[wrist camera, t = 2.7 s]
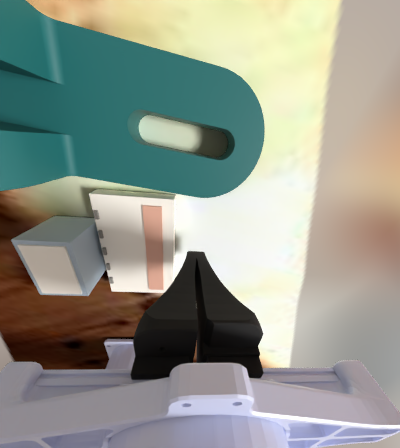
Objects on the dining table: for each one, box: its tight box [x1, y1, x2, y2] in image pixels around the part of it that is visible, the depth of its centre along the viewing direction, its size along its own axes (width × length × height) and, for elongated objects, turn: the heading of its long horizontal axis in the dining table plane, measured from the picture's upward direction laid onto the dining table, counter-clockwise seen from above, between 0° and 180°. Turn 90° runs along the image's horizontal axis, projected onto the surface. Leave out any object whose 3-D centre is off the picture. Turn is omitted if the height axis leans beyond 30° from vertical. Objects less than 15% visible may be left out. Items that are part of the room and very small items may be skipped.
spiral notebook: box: [89, 189, 176, 293], centre depth 14 cm, size 10×6×1 cm, turn 175°
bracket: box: [0, 0, 264, 198], centre depth 7 cm, size 18×7×8 cm, turn 79°
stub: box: [11, 216, 106, 296], centre depth 13 cm, size 5×4×4 cm
